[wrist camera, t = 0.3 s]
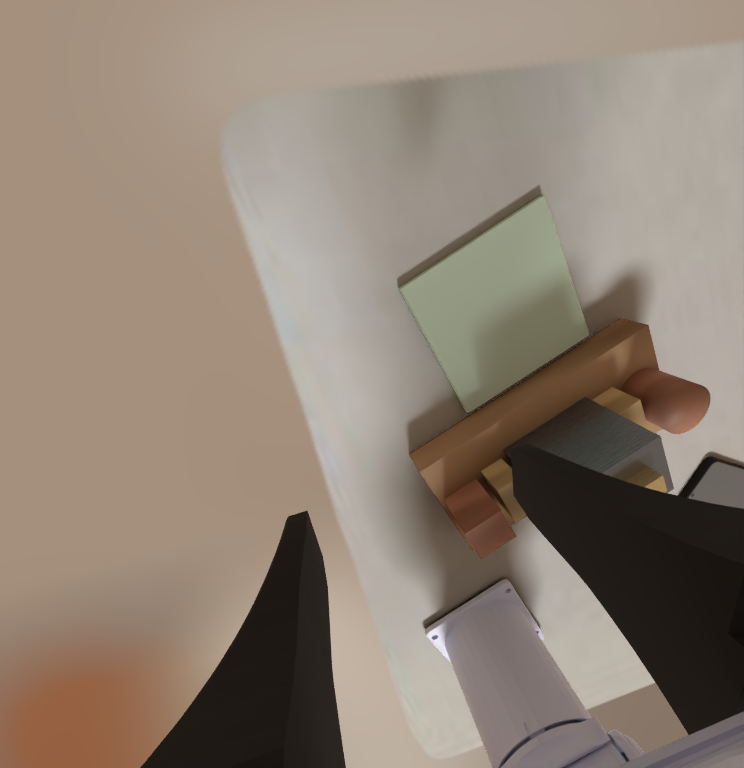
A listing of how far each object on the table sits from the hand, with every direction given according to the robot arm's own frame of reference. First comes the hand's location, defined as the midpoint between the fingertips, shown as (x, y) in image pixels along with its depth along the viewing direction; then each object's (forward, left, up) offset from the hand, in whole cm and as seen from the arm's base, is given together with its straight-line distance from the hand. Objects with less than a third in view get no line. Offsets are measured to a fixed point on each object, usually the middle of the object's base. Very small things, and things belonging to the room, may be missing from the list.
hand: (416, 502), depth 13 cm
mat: (-1, -9, -10) cm, 14 cm away
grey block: (-10, -8, -8) cm, 15 cm away
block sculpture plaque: (-10, -8, -10) cm, 16 cm away
